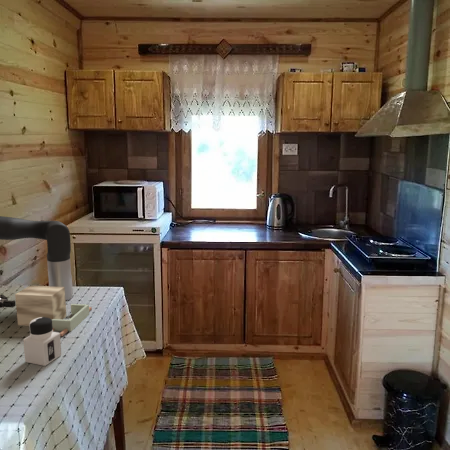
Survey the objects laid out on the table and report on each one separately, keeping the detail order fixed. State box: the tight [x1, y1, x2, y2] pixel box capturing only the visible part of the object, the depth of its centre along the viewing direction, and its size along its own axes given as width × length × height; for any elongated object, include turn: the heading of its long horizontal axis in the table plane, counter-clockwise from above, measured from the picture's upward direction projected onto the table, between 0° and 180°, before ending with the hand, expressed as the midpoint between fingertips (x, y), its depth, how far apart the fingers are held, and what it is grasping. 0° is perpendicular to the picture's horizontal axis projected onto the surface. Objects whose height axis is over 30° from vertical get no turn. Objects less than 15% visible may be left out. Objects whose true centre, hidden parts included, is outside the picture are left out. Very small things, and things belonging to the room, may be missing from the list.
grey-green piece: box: [52, 303, 93, 338], centre depth 168 cm, size 25×7×4 cm, turn 173°
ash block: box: [14, 285, 67, 327], centre depth 169 cm, size 10×14×12 cm
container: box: [23, 317, 62, 367], centre depth 140 cm, size 8×8×13 cm
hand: (14, 304), depth 170 cm, fingers closed
